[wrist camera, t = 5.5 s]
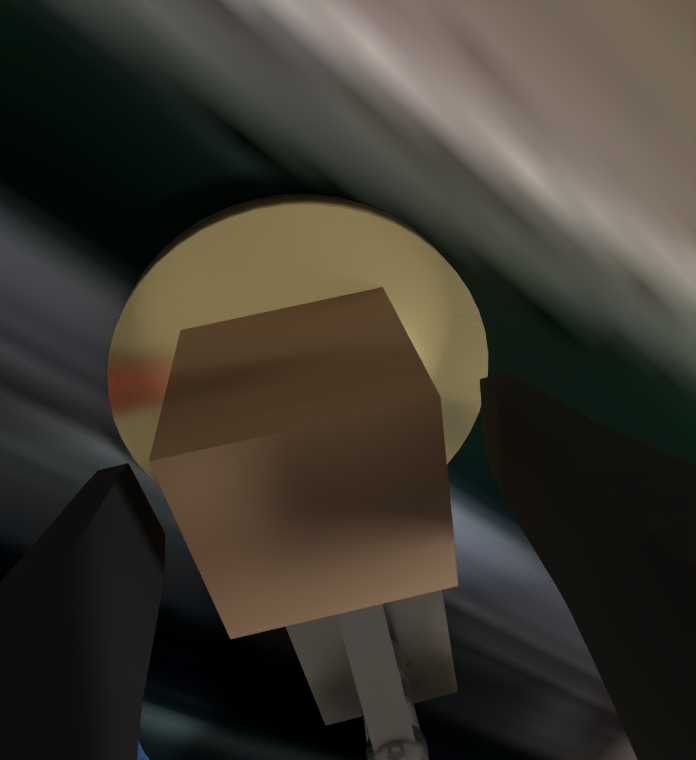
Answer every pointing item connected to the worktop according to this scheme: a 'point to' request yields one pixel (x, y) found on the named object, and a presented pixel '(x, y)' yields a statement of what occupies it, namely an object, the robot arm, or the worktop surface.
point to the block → (306, 462)
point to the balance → (295, 287)
